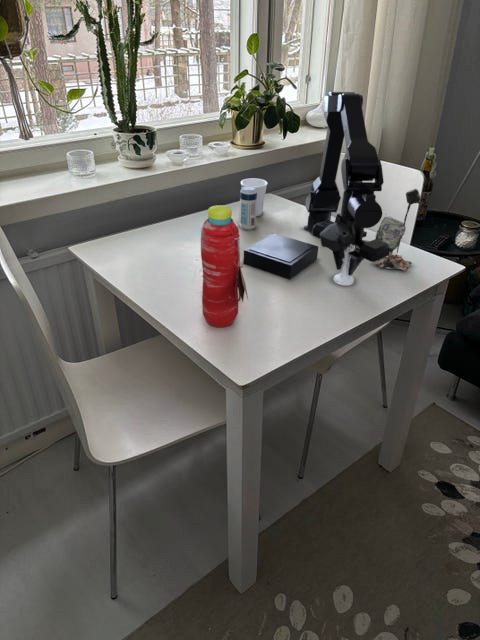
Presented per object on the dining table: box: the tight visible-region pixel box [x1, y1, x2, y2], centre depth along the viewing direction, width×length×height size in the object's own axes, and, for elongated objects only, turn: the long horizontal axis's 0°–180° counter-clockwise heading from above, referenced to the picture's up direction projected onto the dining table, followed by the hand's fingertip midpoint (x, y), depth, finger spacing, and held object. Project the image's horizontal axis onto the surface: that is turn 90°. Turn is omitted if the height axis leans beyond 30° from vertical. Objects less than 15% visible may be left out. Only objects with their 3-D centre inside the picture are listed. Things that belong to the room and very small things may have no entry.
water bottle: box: [200, 204, 249, 328], centre depth 96 cm, size 12×8×25 cm, turn 51°
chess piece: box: [333, 245, 355, 286], centre depth 117 cm, size 5×5×10 cm
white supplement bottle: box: [239, 186, 257, 231], centre depth 143 cm, size 5×5×12 cm
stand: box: [242, 232, 319, 281], centre depth 126 cm, size 14×14×4 cm
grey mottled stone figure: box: [374, 188, 422, 272], centre depth 122 cm, size 8×11×20 cm
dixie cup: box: [240, 177, 268, 217], centre depth 154 cm, size 8×8×10 cm
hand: (344, 272), depth 118 cm, fingers open, 3 cm apart
